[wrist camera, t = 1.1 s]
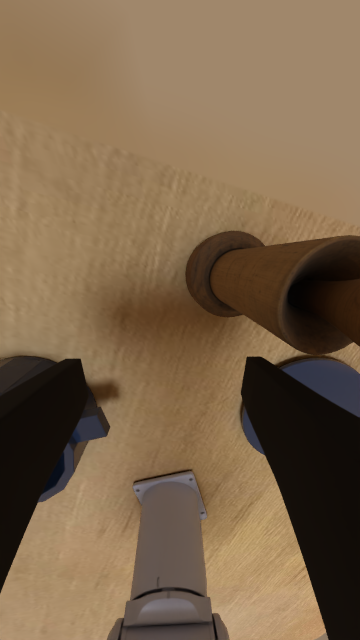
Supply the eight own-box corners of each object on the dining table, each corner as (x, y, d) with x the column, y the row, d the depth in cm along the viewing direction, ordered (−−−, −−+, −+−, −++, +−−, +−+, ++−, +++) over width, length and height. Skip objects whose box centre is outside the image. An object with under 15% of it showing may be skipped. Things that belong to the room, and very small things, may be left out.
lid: (357, 439, 24) (398, 479, 20) (248, 462, 25) (264, 506, 20) (363, 341, 20) (418, 365, 15) (230, 371, 20) (246, 403, 16)
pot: (136, 432, 22) (124, 484, 17) (-7, 464, 23) (-58, 522, 18) (94, 336, 18) (64, 367, 13) (-76, 378, 19) (-165, 422, 14)
